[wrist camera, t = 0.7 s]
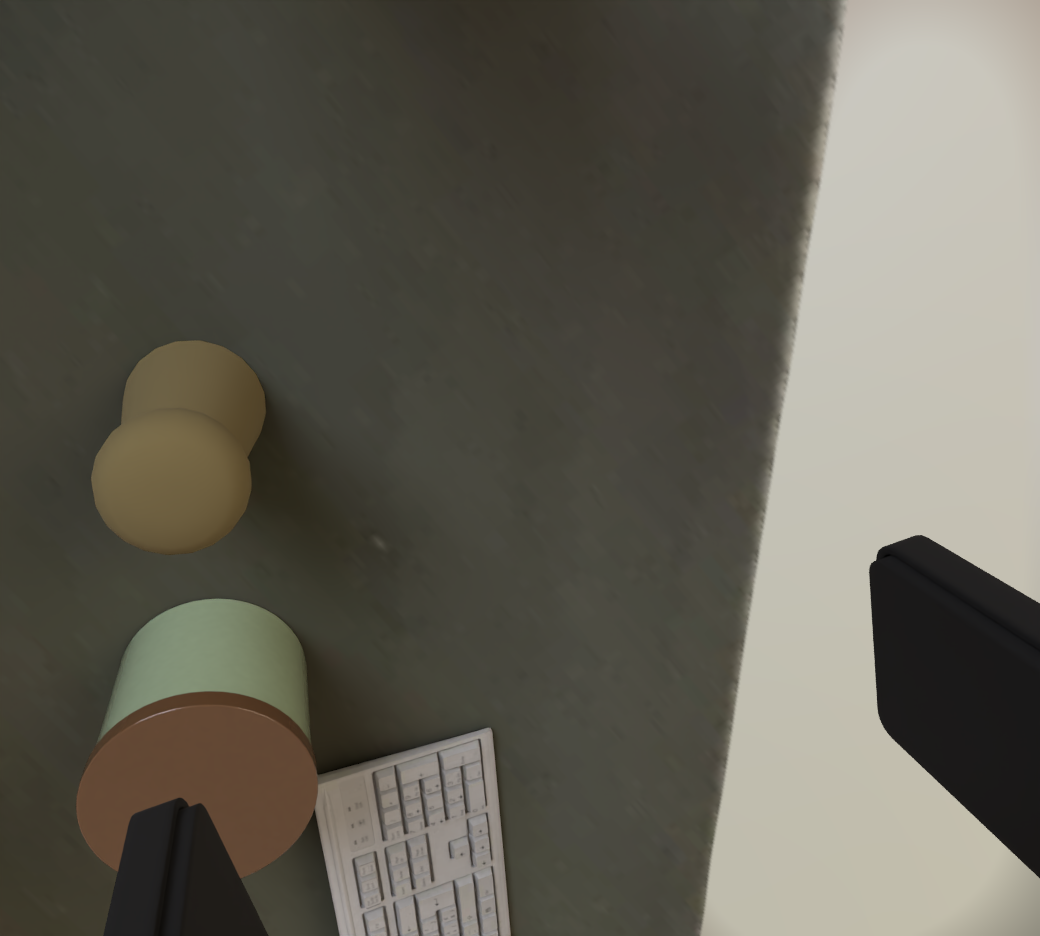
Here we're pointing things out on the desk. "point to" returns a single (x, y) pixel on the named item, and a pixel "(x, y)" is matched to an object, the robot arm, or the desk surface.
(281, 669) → the canister
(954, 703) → the robot arm
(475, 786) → the keyboard
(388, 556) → the desk surface
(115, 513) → the brown tapered tall piece
